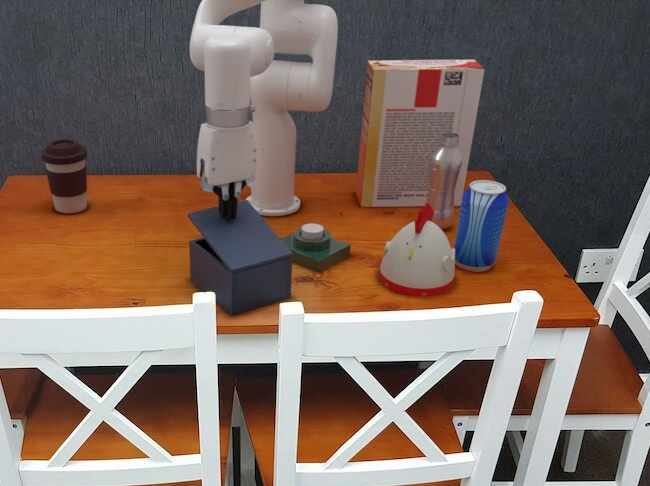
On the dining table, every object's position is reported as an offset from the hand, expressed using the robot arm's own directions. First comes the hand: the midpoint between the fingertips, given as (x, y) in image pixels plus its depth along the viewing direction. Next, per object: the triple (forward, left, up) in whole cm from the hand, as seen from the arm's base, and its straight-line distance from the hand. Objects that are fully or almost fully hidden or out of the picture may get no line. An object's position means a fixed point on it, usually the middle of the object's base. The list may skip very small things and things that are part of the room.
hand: (228, 217), depth 143 cm
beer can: (+19, +45, -13) cm, 51 cm away
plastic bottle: (+2, +51, -13) cm, 53 cm away
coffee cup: (-49, -13, -13) cm, 52 cm away
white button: (-1, +20, -9) cm, 22 cm away
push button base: (-1, +20, -13) cm, 24 cm away
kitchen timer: (+18, +31, -13) cm, 38 cm away
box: (+4, 0, -13) cm, 14 cm away
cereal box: (-13, +56, -13) cm, 59 cm away
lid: (+4, 0, -2) cm, 4 cm away
